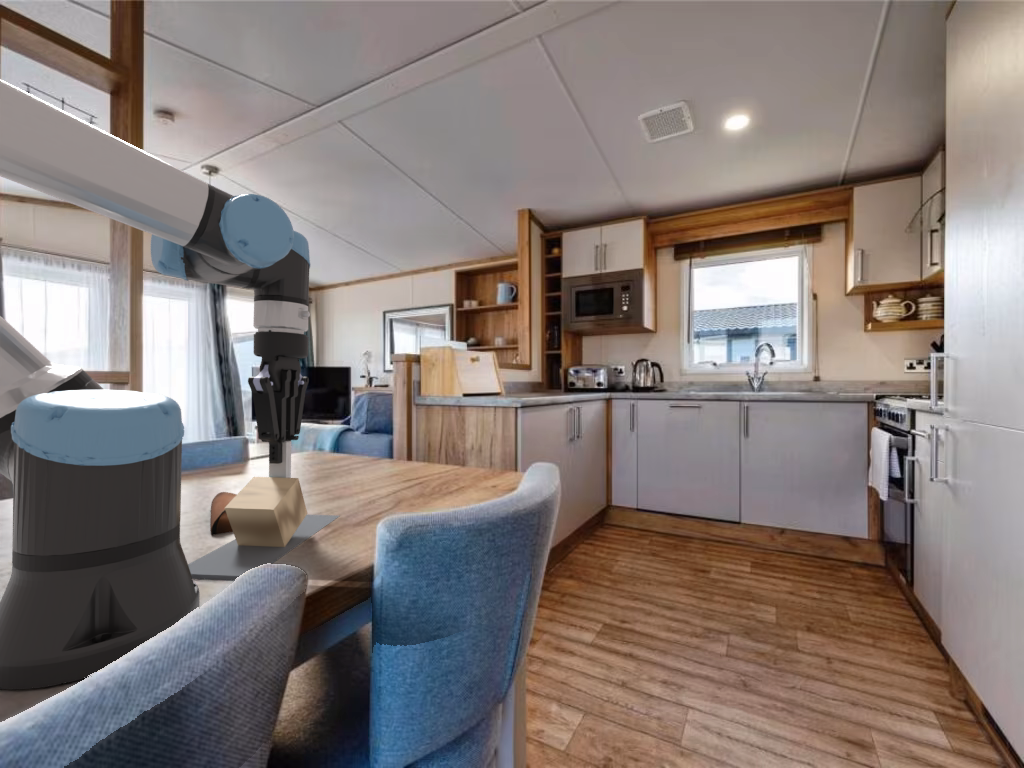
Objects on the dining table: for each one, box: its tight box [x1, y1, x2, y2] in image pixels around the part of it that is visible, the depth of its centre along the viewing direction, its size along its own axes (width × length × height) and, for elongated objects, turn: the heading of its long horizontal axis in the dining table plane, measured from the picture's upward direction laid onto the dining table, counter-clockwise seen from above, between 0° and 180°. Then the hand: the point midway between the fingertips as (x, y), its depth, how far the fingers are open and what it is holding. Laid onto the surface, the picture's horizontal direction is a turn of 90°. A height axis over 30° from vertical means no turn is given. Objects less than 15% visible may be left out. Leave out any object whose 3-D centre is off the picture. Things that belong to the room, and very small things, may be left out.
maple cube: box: [225, 476, 309, 547], centre depth 65 cm, size 7×7×7 cm
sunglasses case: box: [209, 491, 238, 536], centre depth 76 cm, size 18×7×7 cm, turn 35°
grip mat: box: [188, 514, 340, 582], centre depth 66 cm, size 24×10×1 cm, turn 178°
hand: (279, 482), depth 68 cm, fingers closed
